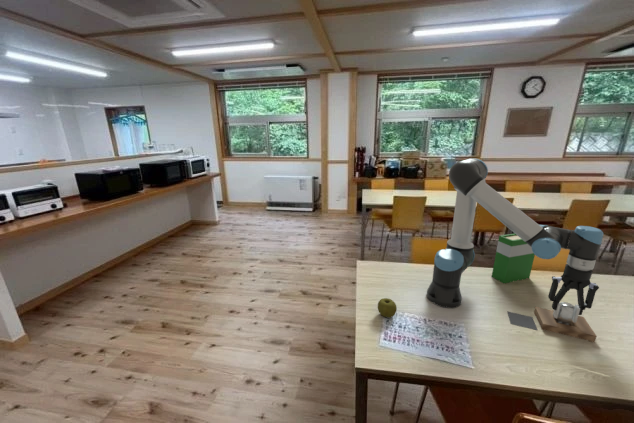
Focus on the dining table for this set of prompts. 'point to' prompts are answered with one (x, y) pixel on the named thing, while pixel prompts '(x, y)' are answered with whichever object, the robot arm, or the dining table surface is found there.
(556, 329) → the jig
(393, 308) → the apple
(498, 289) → the dining table surface
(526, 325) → the pad
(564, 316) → the brushed steel cylinder
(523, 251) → the hardback book
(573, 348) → the dining table surface
